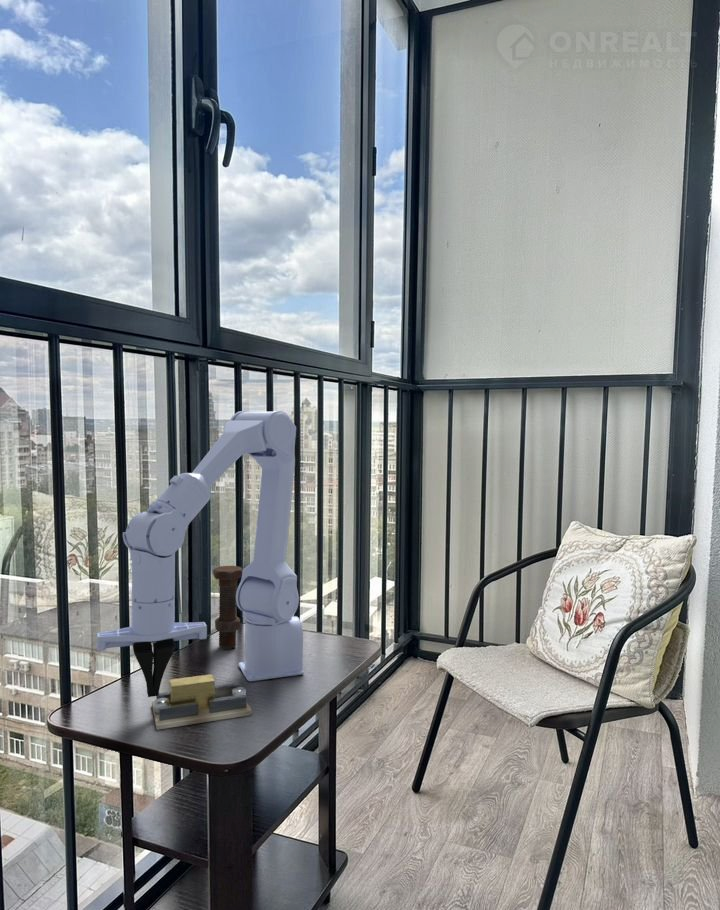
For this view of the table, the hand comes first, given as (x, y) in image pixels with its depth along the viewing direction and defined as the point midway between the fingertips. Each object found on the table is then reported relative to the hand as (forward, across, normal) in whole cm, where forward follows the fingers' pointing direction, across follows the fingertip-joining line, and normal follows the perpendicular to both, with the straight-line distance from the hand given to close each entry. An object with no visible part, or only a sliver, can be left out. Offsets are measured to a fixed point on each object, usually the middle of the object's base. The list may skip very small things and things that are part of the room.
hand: (152, 693), depth 87 cm
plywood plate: (+3, -7, 0) cm, 8 cm away
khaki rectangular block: (+3, -5, 0) cm, 6 cm away
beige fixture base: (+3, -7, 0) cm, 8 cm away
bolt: (+4, -16, -25) cm, 30 cm away
